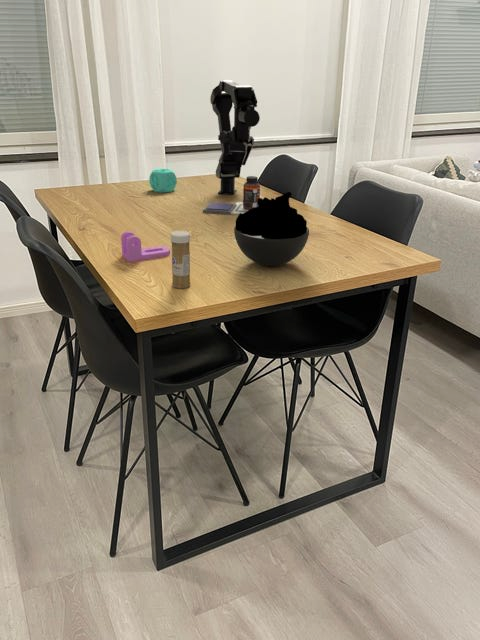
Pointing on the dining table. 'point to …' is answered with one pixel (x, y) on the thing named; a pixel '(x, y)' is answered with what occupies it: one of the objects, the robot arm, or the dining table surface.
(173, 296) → the dining table surface
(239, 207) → the form board
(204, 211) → the ink pad
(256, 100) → the robot arm
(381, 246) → the dining table surface
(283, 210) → the coal bowl
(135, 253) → the bracket
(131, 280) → the dining table surface
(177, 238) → the sprinkles bottle
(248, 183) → the supplement bottle
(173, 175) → the decorative dice
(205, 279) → the dining table surface
